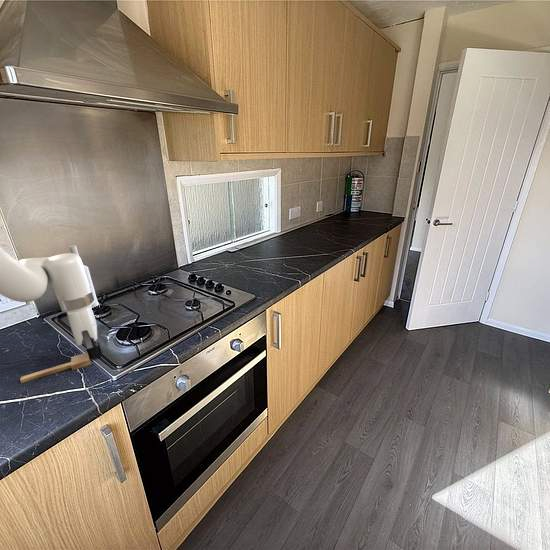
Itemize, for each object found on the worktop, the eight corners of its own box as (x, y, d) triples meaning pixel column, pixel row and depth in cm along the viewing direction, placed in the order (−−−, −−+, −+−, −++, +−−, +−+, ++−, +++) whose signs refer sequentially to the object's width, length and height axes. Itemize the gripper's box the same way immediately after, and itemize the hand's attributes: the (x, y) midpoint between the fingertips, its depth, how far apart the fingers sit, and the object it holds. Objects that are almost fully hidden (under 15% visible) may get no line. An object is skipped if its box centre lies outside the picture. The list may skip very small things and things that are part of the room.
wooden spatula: (20, 386, 75) (17, 382, 74) (23, 376, 78) (21, 371, 78) (90, 364, 82) (89, 360, 81) (90, 356, 85) (89, 351, 85)
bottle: (100, 309, 111) (81, 246, 101) (84, 313, 108) (63, 249, 98) (99, 304, 115) (80, 242, 105) (84, 308, 112) (63, 245, 102)
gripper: (62, 293, 81) (81, 347, 88) (57, 317, 69) (80, 377, 77) (92, 286, 84) (109, 339, 92) (93, 308, 73) (112, 366, 80)
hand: (96, 356), depth 84 cm, fingers closed
